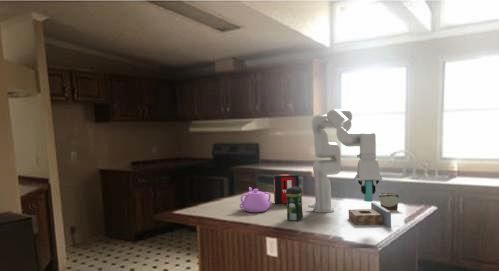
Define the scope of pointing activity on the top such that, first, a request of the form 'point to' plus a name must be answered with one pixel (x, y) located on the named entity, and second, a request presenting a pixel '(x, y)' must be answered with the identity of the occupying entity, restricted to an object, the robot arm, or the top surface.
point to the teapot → (255, 201)
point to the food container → (389, 200)
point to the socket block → (365, 217)
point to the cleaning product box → (284, 186)
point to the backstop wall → (383, 211)
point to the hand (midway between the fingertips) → (368, 193)
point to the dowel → (368, 191)
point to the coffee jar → (294, 203)
